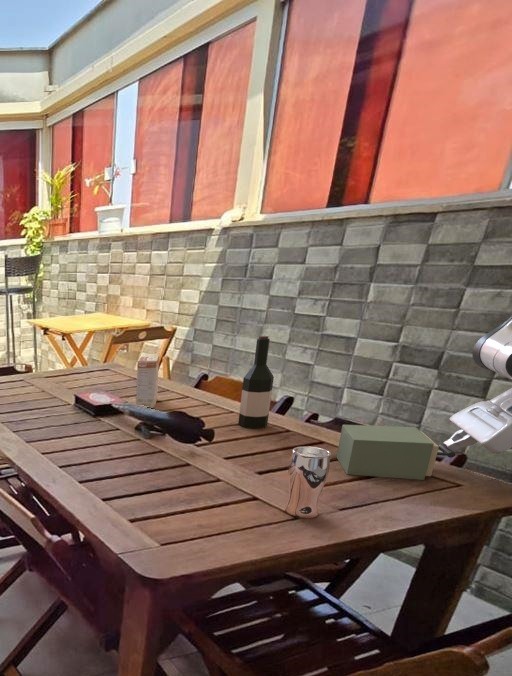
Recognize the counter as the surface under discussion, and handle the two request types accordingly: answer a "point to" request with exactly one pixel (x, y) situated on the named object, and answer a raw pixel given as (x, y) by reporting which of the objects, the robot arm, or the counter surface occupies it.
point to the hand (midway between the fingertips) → (447, 447)
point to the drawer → (435, 452)
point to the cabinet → (384, 451)
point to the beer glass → (306, 480)
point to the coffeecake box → (147, 379)
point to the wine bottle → (257, 389)
